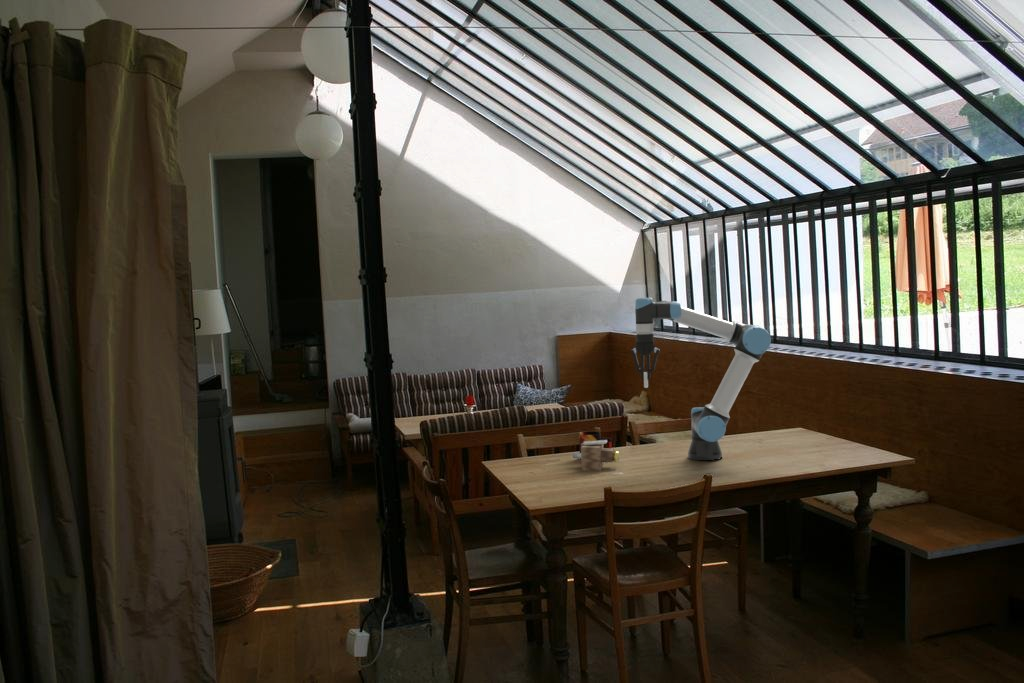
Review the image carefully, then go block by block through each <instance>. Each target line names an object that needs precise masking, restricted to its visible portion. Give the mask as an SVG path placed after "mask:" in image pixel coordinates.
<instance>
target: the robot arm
mask: <svg viewBox="0 0 1024 683" xmlns="http://www.w3.org/2000/svg"><path fill="white" fill-rule="evenodd" d="M634 308H635V310H634V312H635V333H636V335H635V346H634V348H633V349H632V348H631V349H630V353H631V355H632V358H633V361H634V364H635V368H636V371H637V372H640V377H641V381H643V388H645V389H647V388H649V381H650V380H651V373H652V372H654V371H655V369H656V364H657V360H658V355H659V353H660V351H661V350H660V348H658V347H657V346H656V345H655V341H654V320H669V321H670V322H671V321H672V322H675V323H678V324H681V325H684V326H687V327H689V328H693V329H695V330H699V331H701V332H705V333H708V334H710V335H714V336H717V337H720V338H722V339H725V340H726V342H727V343H730V344H733V345H735V346H734V349H733V350H734V353H735V354H734V357H733V359H732V361H731V362H730V364H729V366H728V368H727V370H726V372H725V374H724V376H723V377H722V380H721V382H720V383H719V385H718V388H717V390H716V391H715V394H714V396H713V398H712V399H711V402H710V403H707V404H705V405H704V406H703V407H701V406H700V407H692V408H691V411H690V412H691V413H690V416H691V418H690V419H691V442H690V445H689V447H688V448H689V449H688V452H687V458H688V459H690V460H694V461H699V460H714V459H719V458H721V457H722V458H723V451H722V449H721V445H720V443H719V441H720V440H721V439H722V438H723V437H724V435H725V434H726V431H727V429H726V428H727V425H728V422H729V420H730V418H731V416H730V411H731V409H732V407H733V405H734V403H735V401H736V399H737V397H738V395H739V393H740V391H741V389H742V387H743V385H744V383H745V381H746V380H747V378H748V376H749V374H750V372H751V370H752V368H753V365H754V364H755V363H758V362H760V360H761V358H762V356H763V355H764V353H766V352H767V351H768V350H769V348H770V346H771V343H772V338H771V335H770V333H769V332H768V330H767V329H766V328H764V327H763V326H759V325H754V324H746V323H741V322H737V321H735V320H734V321H733V322H731V321H728V320H724V319H721V318H719V317H715V316H711V315H709V314H707V313H706V314H705V313H703V312H700V311H697V310H694V309H690V308H688V307H685V306H682V304H681V302H680V301H674V300H673V301H667V300H660V301H654V300H653V297H637V298H636V299H635V307H634ZM653 351H654V356H653V360H652V365H651V354H652V353H653ZM637 353H639V355H640V364H639V360H638V357H637V356H638V355H637ZM645 356H646V371H645ZM714 461H715V460H714Z"/></svg>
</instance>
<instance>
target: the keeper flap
mask: <svg viewBox="0 0 1024 683" xmlns="http://www.w3.org/2000/svg"><path fill="white" fill-rule="evenodd" d="M607 443H608V442H607V440H599V441H586V442H584V443H583V445H594V444H604V445H605V444H607Z"/></svg>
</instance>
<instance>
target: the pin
mask: <svg viewBox="0 0 1024 683" xmlns="http://www.w3.org/2000/svg"><path fill="white" fill-rule="evenodd" d="M572 459H579V460H580V459H581V453H580V452H572ZM613 462H614V463H619V462H620V451H617V450H616V451H615V450H614V453H613Z"/></svg>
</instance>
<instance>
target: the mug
mask: <svg viewBox="0 0 1024 683" xmlns="http://www.w3.org/2000/svg"><path fill="white" fill-rule="evenodd" d="M578 435H579V436H578V439H579V448H578V449H579V453H581V447H582V446H581V444H582V443H583V441H599V440H607V443H608V448H612V438H611V437H601V432H600V431H595V430H594V431H593V430H591V431H590V430H587V431H580V432H579V433H578ZM579 461H581V459H580V458H579Z"/></svg>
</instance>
